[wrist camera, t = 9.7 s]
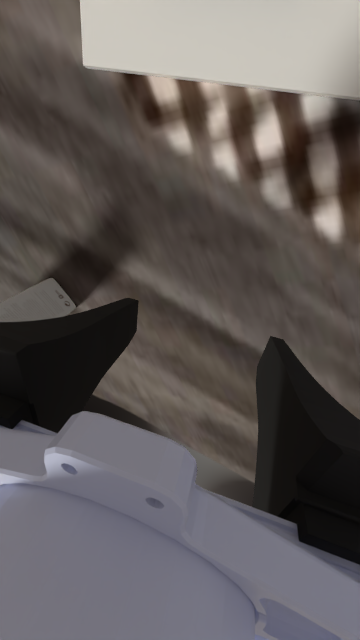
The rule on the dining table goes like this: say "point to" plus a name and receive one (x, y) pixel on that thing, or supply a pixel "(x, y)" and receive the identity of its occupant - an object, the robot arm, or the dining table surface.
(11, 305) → the skincare box
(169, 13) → the socket plate
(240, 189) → the dining table surface
